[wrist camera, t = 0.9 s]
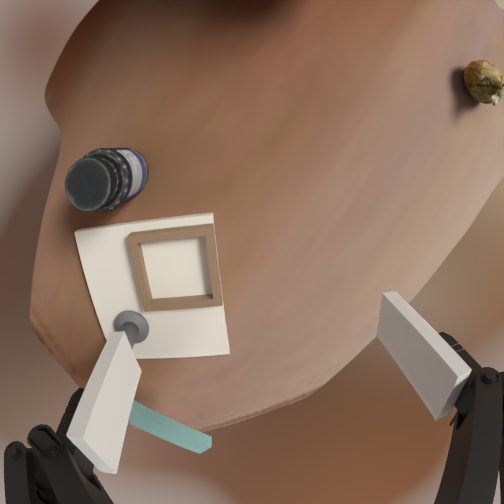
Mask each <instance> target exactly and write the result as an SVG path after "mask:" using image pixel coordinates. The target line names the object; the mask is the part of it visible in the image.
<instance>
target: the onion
mask: <svg viewBox="0 0 504 504" xmlns="http://www.w3.org/2000/svg"><path fill="white" fill-rule="evenodd" d="M464 82H465V86H466V88H467V90H468V92H469V93H470V94H471V95H472V96H473V97H474V98H475V99H476V100H478V101H479V102H482V103H485V104H489V103H492V104H493V105H494V106H495V105H496V103H497V102H499V100H501V99H502V98H503V95H504V88H503V86H504V82H503V79H502V76H501V74H500V72H499V70H498V69H497V68H496V67H495V66H494V65H493V64H491V63H489V62H487V61H485V60H478V61H473V62H471V63H470V64H469V65H468V66H467V67H466V69H465V71H464Z"/></svg>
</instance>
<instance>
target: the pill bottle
mask: <svg viewBox="0 0 504 504" xmlns="http://www.w3.org/2000/svg"><path fill="white" fill-rule="evenodd" d="M147 179H148V166H147V163H146V161H145V159H144V157H143V156H142V155H141V154H140V153H139V152H137V151H135V150H132V149H130V148H99V149H96V150H93V151H91V152H89V153H88V154H86V155H85V156H84V157H83V158H82V159H80V160H78V161H76V162H75V163H74V164H73V165H72V166H71V167H70V169H69V171H68V173H67V176H66V179H65V191H66V194H67V197H68V199H69V201H70V202H71V203H72V205H73V206H74V207H76V208H77V209H79V210H81V211H87V212H90V211H96V212H105V211H109V210H112V209H114V208H116V207H118V206H119V205H121V204H122V203H124V202H126V201H127V200H129V199H131V198H133V197H134V196H136V195H137V194H138V193H140V192H141V191H142V189H143V188H144V186H145V185H146V182H147Z"/></svg>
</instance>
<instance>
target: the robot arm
mask: <svg viewBox="0 0 504 504" xmlns="http://www.w3.org/2000/svg"><path fill="white" fill-rule="evenodd" d="M377 337H378V338H379V339H380V341H381V342H382V343H383V345H384V346H385V348H386V349H387V350H388V352H389V353H390V354H391V356H392V357H393V359H394V360H395V361H396V363H397V364H398V366H399V367H400V368H401V370H402V371H403V373H404V374H405V376H406V377H407V378H408V380H409V381H410V383H411V384H412V386H413V387H414V389H415V390H416V392H417V393H418V394H419V396H420V397H421V399H422V400H423V402H424V403H425V405H426V406H427V408H428V409H429V411H430V412H431V414H432V415H433V417H434V418H435V420H436V421H437V420H439V419H441V418H443V417H445V416H447V415H449V414H450V412H451V410H452V408H453V406H455V407H456V408H457V412H456V414H455V416H454V417H453V419H452V421H451V422H450V426H451V425H452V424H453V422H454V427H453V432H452V438H451V443H450V448H449V452H448V457H447V461H446V465H445V469H444V473H443V476H442V480H441V483H440V487H439V490H438V493H437V496H436V499H435V502H434V504H493V500H494V495H495V489H496V484H497V478H498V471H499V474H500V489H501V490H500V491H501V504H504V372H498V371H496V370H495V369H493V368H490V367H484V368H482V367H481V366H480V365H479V364H478V363H477V362H476V361H475V360H474V359H473V358H472V357H471V356H470V355H469V354H468V352H467V351H465V350H463V348H462V346H461V345H460V344H458V342H457V341H456V340H455V339H454V338H453V337H452V336H450V335H448V334H446V333H444V332H441V333H437V332H436V331H435V330H434V329H433V328H432V327H431V326H430V325H429V324H428V323H427V322H426V321H425V320H424V319H423V318H422V317H421V316H420V315H419V314H418V313H417V312H416V311H415V310H414V309H413V308H412V307H411V306H410V305H409V304H408V303H407V302H406V301H405V300H404V299H403V298H402V297H401V296H400V295H399V294H398V293H397V292H396V291H391V292H386V293H382V301H381V309H380V317H379V324H378V331H377ZM140 375H141V369H140V367H139V364H138V362H137V360H136V358H135V355H134V353H133V351H132V348H131V346H130V344H129V341H128V339H127V336H126V334H125V331H120V332H111V334H110V336H109V338H108V340H107V342H106V344H105V346H104V348H103V350H102V352H101V355H100V357H99V359H98V361H97V363H96V365H95V367H94V370H93V372H92V374H91V376H90V378H89V381H88V383H87V385H86V388H85V389H84V388H79V389H78V390H77V391H76V392H75V393H74V394H73V395H72V397H71V399H70V401H69V403H68V406H67V408H66V410H65V413H64V415H63V417H62V419H61V422H60V424H59V427H58V429H57V432H56V433H55V432H54V431H53V430H52V428H51V427H49V426H48V425H42V424H41V425H38V426H36V427H34V428H33V429H32V430H31V431H30V432H29V435H28V437H27V440H28V444H29V445H30V446H31V447H32V448H26V447H25V446H24V445H23V444H22V443H21V442H19V441H14V442H12V443H10V444H9V445H8V446H7V447H6V449H5V453H4V481H5V482H4V483H5V498H6V504H114V503H113V502H112V500H111V499H110V497H109V496H108V494H107V493H106V491H105V490H104V488H103V486H102V485H101V483H100V481H99V480H98V478H97V476H96V475H95V474H94V473H93V468H94V466H96V467H97V468H98V469H99V470H100V471H101V472H106V473H113V474H117V469H118V464H119V460H120V455H121V450H122V446H123V441H124V437H125V433H126V428H127V424H128V420H129V416H130V412H131V408H132V404H133V400H134V397H135V393H136V389H137V385H138V382H139V378H140Z"/></svg>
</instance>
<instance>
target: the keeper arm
mask: <svg viewBox="0 0 504 504" xmlns="http://www.w3.org/2000/svg"><path fill="white" fill-rule="evenodd" d="M128 423H130V424H132V425H134V426H136V427H138V428H140V429H142V430H144V431H146V432H148V433H151V434H153V435H155V436H157V437H159V438H162V439H164V440H167V441H169V442H171V443H173V444H176V445H178V446H181V447H183V448H186V449H188V450H191V451H194V452H196V453H199V454H200V453H202V452H204V451H205V450H207V449H209V448H210V447H212V437H211V436H208V435H206V434H203V433H201V432H199V431H196V430H194V429H192V428H189V427H187V426H185V425H183V424H180V423H178V422H176V421H174V420H172V419H170V418H168V417H166V416H163V415H161V414H159V413H157V412H155V411H153V410H151V409H150V408H148V407H146V406H144V405H142V404H140V403H138V402H136V401H135V400H133V404H132V408H131V412H130V416H129V420H128Z"/></svg>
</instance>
